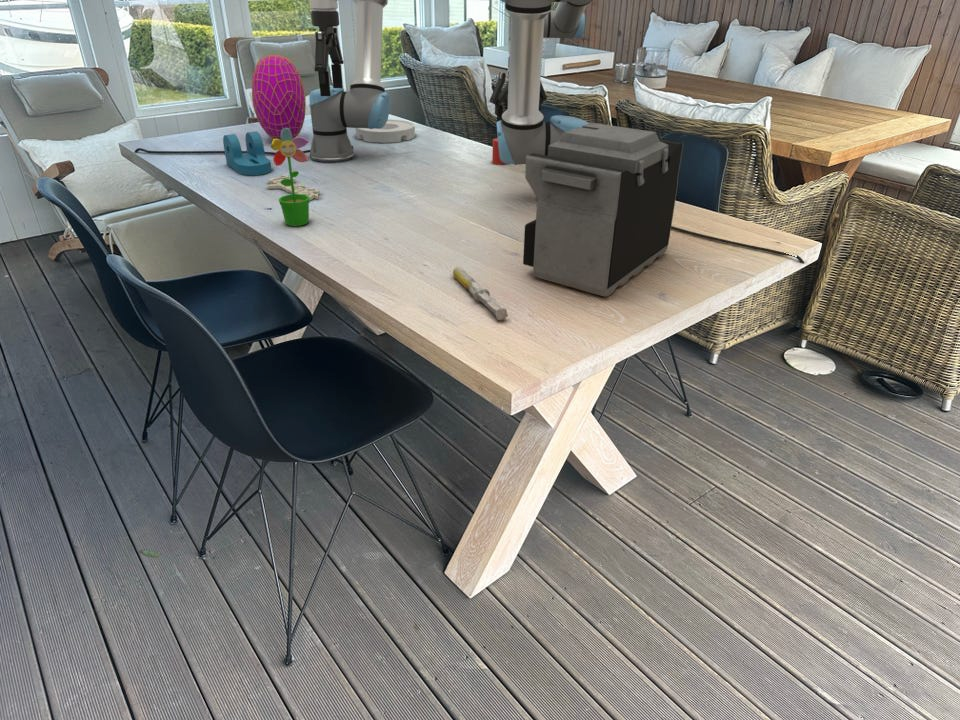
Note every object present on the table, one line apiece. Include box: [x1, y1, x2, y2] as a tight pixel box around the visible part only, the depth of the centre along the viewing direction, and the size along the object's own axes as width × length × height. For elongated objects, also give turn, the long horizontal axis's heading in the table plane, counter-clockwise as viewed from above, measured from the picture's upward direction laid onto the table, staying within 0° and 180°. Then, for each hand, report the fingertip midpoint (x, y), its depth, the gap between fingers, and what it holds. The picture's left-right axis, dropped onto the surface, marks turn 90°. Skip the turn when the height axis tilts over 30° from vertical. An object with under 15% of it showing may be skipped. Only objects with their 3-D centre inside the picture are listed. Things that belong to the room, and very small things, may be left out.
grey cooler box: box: [522, 122, 685, 297], centre depth 153 cm, size 37×22×30 cm, turn 144°
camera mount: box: [222, 131, 272, 176], centre depth 226 cm, size 18×10×10 cm, turn 35°
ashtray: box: [355, 118, 416, 144], centre depth 271 cm, size 23×23×4 cm
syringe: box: [452, 266, 509, 321], centre depth 145 cm, size 25×4×3 cm, turn 21°
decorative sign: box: [267, 174, 321, 201], centre depth 209 cm, size 26×1×10 cm
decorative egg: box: [251, 54, 307, 141], centre depth 257 cm, size 19×19×30 cm
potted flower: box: [270, 128, 310, 227], centre depth 177 cm, size 9×8×25 cm
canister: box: [491, 137, 508, 166], centre depth 238 cm, size 6×6×8 cm
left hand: (332, 92), depth 199 cm, fingers open, 13 cm apart
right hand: (517, 124), depth 230 cm, fingers open, 13 cm apart
